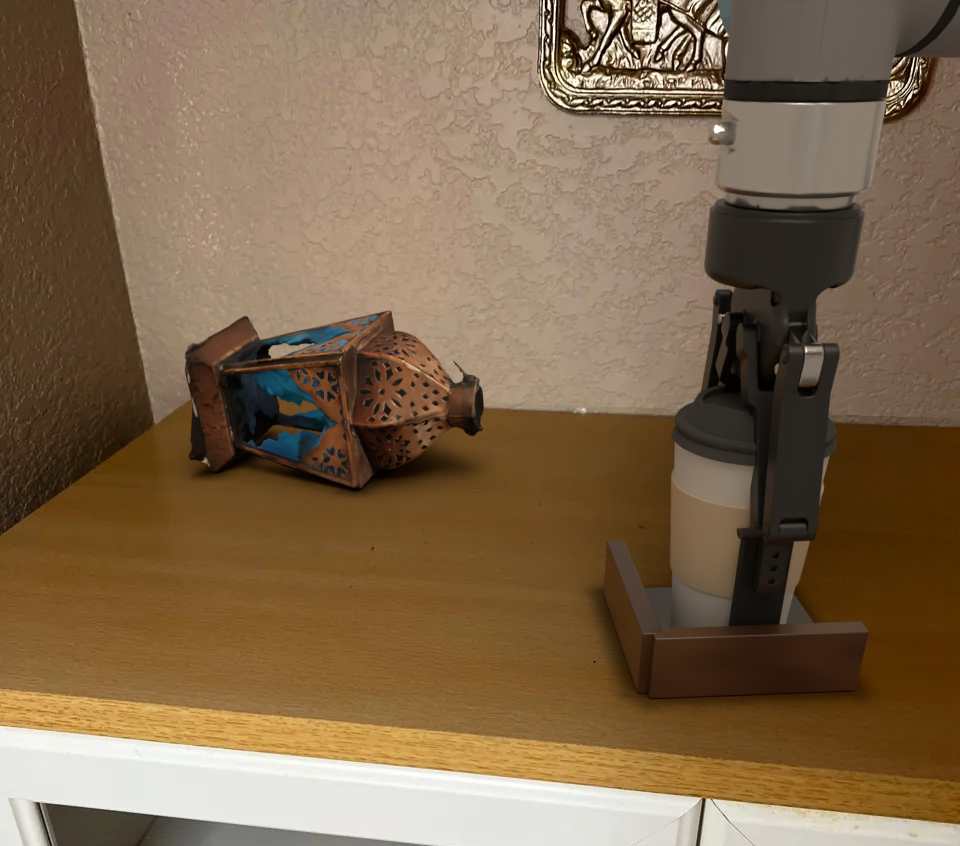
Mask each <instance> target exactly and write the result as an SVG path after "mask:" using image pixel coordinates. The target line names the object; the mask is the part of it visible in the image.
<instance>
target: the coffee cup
mask: <svg viewBox="0 0 960 846" xmlns="http://www.w3.org/2000/svg"><path fill="white" fill-rule="evenodd" d="M763 392H774V390H763ZM674 423H675V425H674V427H673V428H672V430H671V439H672V440H673V441H674V463H673V464H674V468H673V470H672V471H671V474H670V479H671V480H670V536H669V537H670V539H669V541H670V542H669V544H670V545H669V567H670V570H671V587H672V607H671V626H672V628H686V627H714V626H728V625H729V618H730V611H731V604H732V597H733V591H734V584H735V577H736V570H737V563H738V556H739V549H740V542H741V539H739V538H738V536H737V528H750V486H751V481H752V475H753V469H754V466H755V454H756V450H757V447H756V445H755V443H754V417H753V416H751V415H750V412H749V411H748V410H747V409H746V408H744V407H743V405H742V403H741V392H740V393H724V387H723V386H722V385H720V386H715V387H711V388H708V389H705V390H703V391H701V390H700V391H699V392H698V394H697V395H696V396H695V399H694V400H693V402H690V403H688V404H685V405H683V406H682V407H681V408H680V409H678V411H677V412H676V413H675V416H674ZM836 435H837V427H836V424H835V423H834V422H833V421H832V420H831V418H830V417H828V424H827V434H826V444H825V454H824V464H823V474H822V483H821V493H820V503H819V507H820V506H821V502H822V498H823V494H824V490H825V485H824V479H825V475H826V471H827V467H828V465H829V460H830V456H832V454H834V453H835V451H836V449H837V444H838V443H837V440H836ZM810 543H811V541H795V542H794V545H793V551H792V556H791V562H790V568H789V573H788V579H787V585H786V590H785V596H784V602H783V607H782V613H781V619H780V624H786V620H787V616H788V612H789V609H790V605H791V601H792V597H793V593H795V589H796V587H797V586H798V584H799V583H800V581H801V576H802V573H803V569H804V566H805V562H806V557H807V555H808V550H809V548H810V547H809V546H810Z"/></svg>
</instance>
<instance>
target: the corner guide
mask: <svg viewBox="0 0 960 846" xmlns="http://www.w3.org/2000/svg"><path fill="white" fill-rule="evenodd" d="M631 555H632V554H631V553H630V551H629V548H628V545H627V543H626V541H625V540H607V541H606V552H605V566H604V581H603V582H604V583H603V596H604V599H605V603H606V605H607V608H608V611H609V614H610V617H611V621H612V622H613V626H614V629H615V632H616V634H617V638H618V640H619V643H620V646H621V649H622V653H623V656H624V658H625V661H626V663H627V667H628V669H629V672H630V673H629V674H630V675H631V679H632V681H633V684H634V688H635V690H636V693H637V694H648V697H649V699H671V698H694V697H721V696H722V697H723V696H748V695H773V694H775V695H776V694H777V695H778V694H798V693H799V694H800V693H802V694H803V693H824V692H826V693H829V692H852V691H853V692H854V691H856V690H857V686H858V681H859V676H860V672H861V668H862V664H863V659H864V655H865V650H866V647H867V642H868V638H869V632H870V631H869V630H868V628H867V627H866V626H865V625H864V623H863V622H862V621H861V620H859V621H858V620H857V621H833V622H831V621H830V622H829V621H827V622H814V621H813V619H812V618H811V616H810V615H809V614H808V612H807V610H806V609H805V608H804V606H803V605H802V603H801V602H800V600H799V599H798V597H797V596H796V595H795V594H794V593H795V592H794V593H793V597H792V601H791V605H790V609H789V612H788V616H787V620H786V624H771V625H743V626H714V627H686V628H672V626H671V607H672V586H665V587H664V586H663V587H662V586H661V587H645V586H644V584H643V581H642V579H641V576H640V574H639V572H638V570H637V567H636V564H635V562H634V560H633V557H632V556H631Z"/></svg>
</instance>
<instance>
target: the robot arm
mask: <svg viewBox="0 0 960 846" xmlns="http://www.w3.org/2000/svg"><path fill="white" fill-rule="evenodd" d="M716 2H717V8H718V11H719V18H720V19H721V23H722V26H723V28H724V30H725V32H726V34H727V36H728V39H727V40H728V41H727V50H726V62H725V70H724V84H723V94H722V105H721V114H720V115H721V121H719V122H716V123H712V124H711V125H710V126H709V128H708V129H707V132H708V133H707V134H708V135H707V136H708V137H707V138H708V139H707V140H708V142H709V143H710V144H711V145H713V146H718V147H717V150H716V158H715V170H714V180H713V184H714V185H715V186H716V188H717V189H718V190H720V191H722V192H724V197H722V198H719V199H717V200H716V201H715V202H714V205H712V206H710V208H709V215H708V225H707V233H706V242H705V253H704V262H703V270H704V272H705V274H706V275H707V276H708V278H709V279H711V280H712V281H714V282H716V283H718V284H721V285H725V286H727V287H731V288H717V289H716V290H715V292H714V295H713V297H712V316H711V317H712V318H711V330H710V336H709V341H708V347H707V354H706V358H705V359H706V360H705V365H704V369H703V376H702V382H701V387H700V392H701V391H703V390H705V389H708V388H711V387H715V386H720V385H722V386H723V387H724V393H740V392H741V403H742V405H743V407H744V408H746V409H747V410H748V411H749V412H750V415H751V416H753V417H754V443H755V445H756V447H757V450H756V454H755V466H754V469H753V475H752V481H751V486H750V528H737V536H738V538H739V539H741V542H740V549H739V556H738V563H737V570H736V577H735V584H734V591H733V597H732V604H731V611H730V618H729V625H728V626H743V625H771V624H780V619H781V613H782V607H783V602H784V596H785V590H786V585H787V579H788V573H789V568H790V562H791V556H792V551H793V545H794V542H795V541H810V542H813V541H815V539H816V537H817V531H818V523H819V522H818V521H819V511H820V506H819V503H820V504H821V502H820V493H821V483H822V474H823V464H824V454H825V444H826V434H827V424H828V418H829V413H830V405H831V403H830V402H831V393H832V391H833V386H834V382H835V377H836V373H837V370H838V366H839V361H840V357H841V356H840V355H841V353H840V346H839V344H838V343H837V342H819V329H818V324H817V300H818V297H819V295H821V294H822V293H823V292H825V291H826V290H827V289H836V288H839V287H843V286H844V285H846V284H847V283H848V282H850V280H851V279H852V278H853V276H854V274H855V269H856V266H857V265H856V264H857V259H858V253H859V248H860V242H861V236H862V232H863V225H864V221H865V214H866V213H865V211H864V210H862V207H863V206H862V205H861V204H860V203H858V202H856V201H857V196H859V195H863V194H864V193H865V192H867V191H868V190H869V189H870V188H871V187H872V184H873V178H874V173H875V167H876V161H877V156H878V152H879V151H878V150H879V146H880V140H881V135H882V129H883V123H884V119H885V113H886V108H887V100H888V99H886V98H887V96H888V91H889V85H890V79H891V75H892V70H893V66H894V62H895V59H899V58H901V59H902V58H943V59H944V58H947V59H948V58H949V59H952V58H953V59H955V58H956V59H959V58H960V0H716ZM763 390H774V392H763Z"/></svg>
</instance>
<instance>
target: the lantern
mask: <svg viewBox="0 0 960 846" xmlns="http://www.w3.org/2000/svg"><path fill="white" fill-rule="evenodd" d="M394 324H395V323H394V318H393V312H392V310H384V311H380V312H376V313H375V312H374V313H371V314H367V315H362V316H357V317H353V318H348V319H344V320H340V321H334V322H330V323H327V324H322V325H318V326H314V327H310V328H304V329H300V330H296V331H291V332H287V333H283V334H279V335H274V336H270V337H267V338H266V337H265V338H262V339H260V337H259V334H258V332H257V330H256V329H255V327H254V322H253V320H252V319H251V318H250V317H248V316H247V315H243V316H240V317H238V319H236V320H235V321H234V322H232V323H231V324H230V325H228V326H226V327H224V328H223V329H221V330H219V331H217V332H215V333H213V334H212V335H210V336H208V337H206V338H204V339H202V340H200V341H198V342H191V343H189V344H188V345H187V346H186V350H185V353H184V360H185V365H184V374H185V379H186V383H187V388H188V391H189V394H190V399H191V403H192V405H191V421H190V422H191V423H190V425H191V426H190V438H189V441H190V444H191V449H190V451H189V453H188V458H189V460H190V461H197V462H201V463H203V464H206V465H207V467H208V468H209V470H210V472H211V473H217V472H218V471H219V470H221V469H222V467H224V466H225V465H226V464H227V463H229V462H230V461H231V460H233V459H235V457H238V456H241V455H242V453H247V454H249V455H251V456H254V457H258V458H260V459H261V460H267V461H269V462H272V463H276V464H278V465H281V466H283V467H287V468H289V469H292V470H296V471H299V472H301V473H302V472H303V473H304V474H305V473H306V474H309V475H312V476H314V477H318V478H320V479H324V480H327V481H329V482H333V483H338V484H340V485H342V486H344V487H348V488H352V489H355V490H362V489H363V487H364V486H365V485H366V484H367V483H368V482H369V481H371V480H370V479H371V478H372V477H374V476H375V474H377V472H379V471H380V470H381V469H382V470H393V469H397V468H399V467H402V466H404V465H405V464H408V463H410V462H412V461H413V460H415V459H416V458H418V457H421V455H422V454H423V453H424V452H426V451H427V450H428V449H429V448H430V447H432V446H433V444H434V443H436V442H437V441H438V440H439V439H440V438H441V437H442V436H443V435H444V434H445V433H446V432H448V431H449V430H451V429H453V428H457V429H461V430H462V431H463V432H464V433H465V434H466V435H468V436H469V437H475V436H476V435H477V434H478V433H479V432H482V431H483V430H484V426H483V425H482V424H481V423H482V422H481V421H482V420H481V419H482V416H483V414H484V409H485V403H484V392H483V387H482V386H481V385H480V381H481V380H480V377H478V376H476V375H474V374H468V373H467V372H465V370H464V369H463V368H462V367H461V366H460V365H459V364H458V363H457V362H456V361H455V360H453V364H454V365H455V366H456V367H457V368H458V370H459V372H460V373H462V379H461V381H458V382H454V381H453V379H452V378H451V376H450V374H449V373H448V372H447V371H446V369H445V367H444V366H443V365H442V363H441V361H440V360H439V359H438V358H437V357H436V355H435V354H434V353H433V352H432V350H430V349H429V348H428V347H427V346H426V344H425V343H424V342H422V340H420V339H419V338H418V337H417V336H415V335H413V334H411V333H409V332H406V331H401V330H395V325H394ZM283 344H286V345H288V346H290V347H292V346H293V347H295V346H296V347H298V346H301V345H308V346H305V347H303V348H301V349H298V350H294V351H291V352H289V353H287V354H285V355H281V356H280V357H279V356H278V357H274V358H272V355H270V349H271V348H272V347H273V346H280V345H281V346H282V345H283ZM278 399H280V400H281V401H286V402H287V403H294V404H296V405H297V407H301V406H302V404H303V401H306V402H307V403H311V404H313V405H314V407H315V408H316V409H313V410H308V411H307V412H302V411H301V412H298V413H297V412H296V413H294V414H292V415H288V414H285V413H282V412H281V411H280V403H279V400H278ZM273 426H282V427H287V428H292V429H293V428H294V429H299V430H300V431H298V432H297V433H295V434H291V433H290V432H288V431H287V430H285V431H283V432H279V433H278V434H277V438H278V439H277V440H275V439H272V438H267V439H265V440H263V441H262V443H261V444H260V445H256V443H257V442H258V440H259V439H261V438H262V437H264V435H265V434H266V433H268V432H269V430H271V428H272V427H273ZM315 432H317V433H321V434H320V435H318V434H317V433H315Z"/></svg>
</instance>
